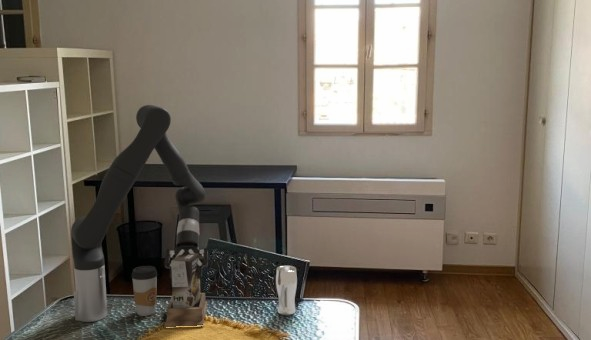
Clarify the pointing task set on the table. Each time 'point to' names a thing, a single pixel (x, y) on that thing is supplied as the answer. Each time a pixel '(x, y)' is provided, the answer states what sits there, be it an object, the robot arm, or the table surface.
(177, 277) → the coffee box
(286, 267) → the beer glass
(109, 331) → the table surface
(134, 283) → the coffee cup
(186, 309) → the brown open box holder
